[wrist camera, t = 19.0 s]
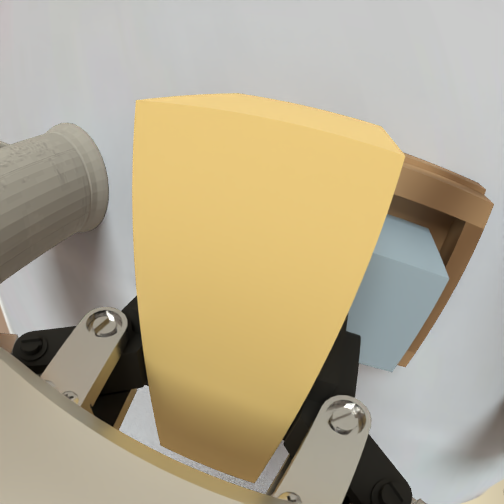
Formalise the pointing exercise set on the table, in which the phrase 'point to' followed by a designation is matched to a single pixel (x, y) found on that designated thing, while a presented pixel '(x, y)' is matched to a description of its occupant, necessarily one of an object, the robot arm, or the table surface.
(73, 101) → the table surface
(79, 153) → the glass holder
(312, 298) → the mustard wooden brick
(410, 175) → the cradle
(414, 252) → the pale grey-blue block
